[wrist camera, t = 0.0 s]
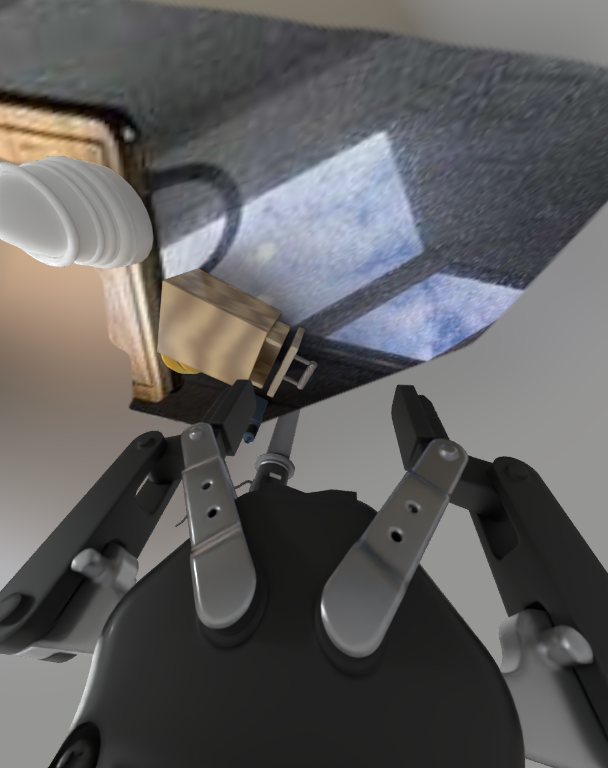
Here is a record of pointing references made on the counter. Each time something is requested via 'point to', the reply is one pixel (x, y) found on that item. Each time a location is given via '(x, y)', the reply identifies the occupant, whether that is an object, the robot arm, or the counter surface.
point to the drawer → (270, 354)
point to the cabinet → (212, 325)
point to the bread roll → (178, 366)
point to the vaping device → (255, 419)
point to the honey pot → (73, 213)
